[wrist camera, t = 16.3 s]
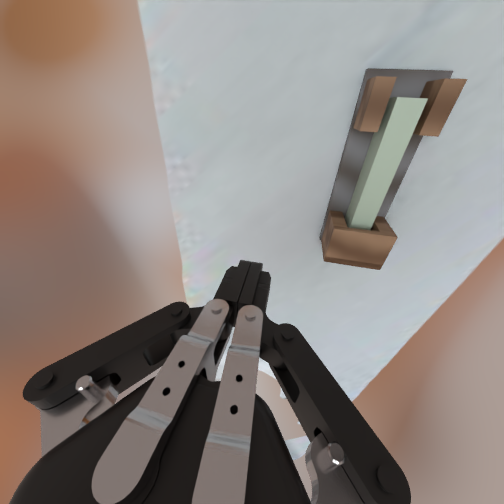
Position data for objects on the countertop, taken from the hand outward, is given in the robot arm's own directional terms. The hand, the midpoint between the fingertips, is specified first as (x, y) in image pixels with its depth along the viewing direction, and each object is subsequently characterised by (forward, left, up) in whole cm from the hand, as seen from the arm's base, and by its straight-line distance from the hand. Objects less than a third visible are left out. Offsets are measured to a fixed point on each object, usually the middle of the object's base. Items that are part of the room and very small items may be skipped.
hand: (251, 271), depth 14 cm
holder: (-1, +13, -25) cm, 28 cm away
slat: (0, +13, -24) cm, 27 cm away
